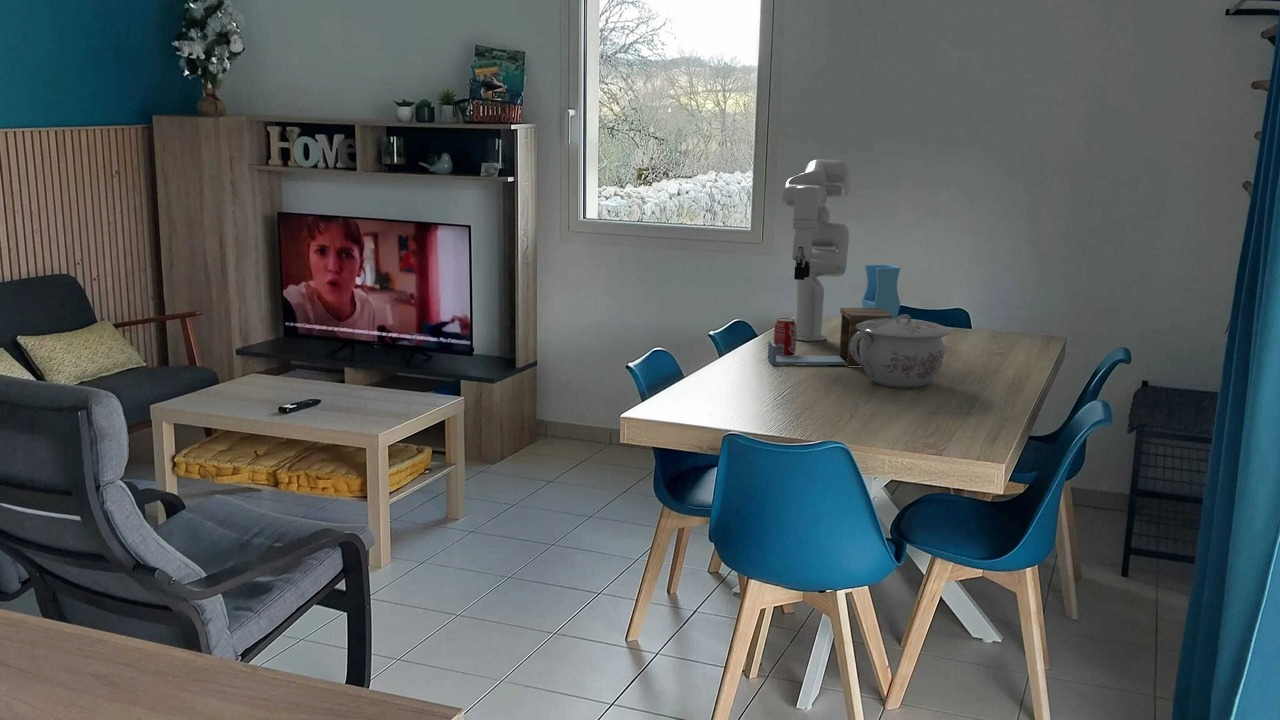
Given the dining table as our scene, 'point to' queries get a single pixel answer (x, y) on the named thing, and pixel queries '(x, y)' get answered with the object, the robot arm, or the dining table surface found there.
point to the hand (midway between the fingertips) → (801, 278)
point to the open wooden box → (849, 328)
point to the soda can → (785, 336)
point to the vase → (882, 288)
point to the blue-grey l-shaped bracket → (801, 358)
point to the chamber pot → (899, 350)
